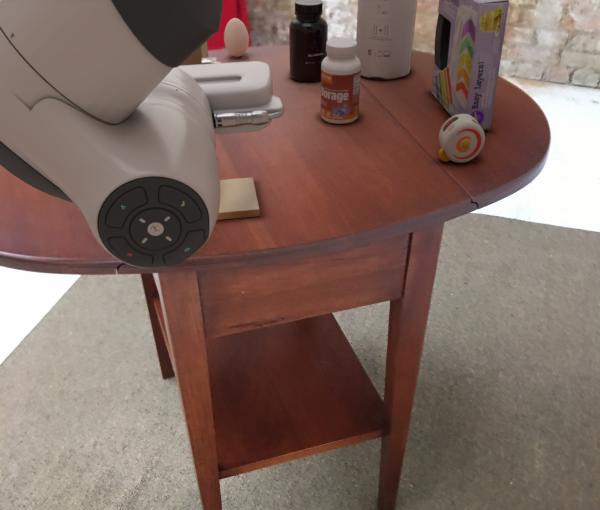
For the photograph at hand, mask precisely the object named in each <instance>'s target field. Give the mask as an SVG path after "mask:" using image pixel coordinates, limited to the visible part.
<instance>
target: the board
mask: <svg viewBox="0 0 600 510" xmlns="http://www.w3.org/2000/svg"><path fill="white" fill-rule="evenodd" d="M220 190H221V193H220V207H219V213H218V217H217V221H221V220H234V219H242V218H244V219H245V218H255V217H261V213H260V206H259V201H258V197H257V190H256V185H255V181H254V177H253V176H250V177H249V176H248V177H238V178H237V177H236V178H227V179H226V178H225V179H220Z"/></svg>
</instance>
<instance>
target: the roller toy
mask: <svg viewBox="0 0 600 510" xmlns="http://www.w3.org/2000/svg"><path fill="white" fill-rule="evenodd" d="M485 142H486V136H485V131H483V129H482V128H481V126H480V125H479V123H478V122H477V121H476V120H475V118H474V117H472V116H471V115H468V114H458V115H455V116H453V117H451V116H450V117H449V118H448V119H447V120H445V121H444V123H443V124H442V125H441V127H440V130H439V133H438V143H439V147H440V149H439V151H438V158H439V160H440V161H441V162H444V163H448V162H450V161H452V162H453V163H457V164H464V163H468V162H470V161H472V160H474V159H475V158H476V157H477V156H478V155H480V153H481V151H482V150H483V148H484V145H485Z"/></svg>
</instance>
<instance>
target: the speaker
mask: <svg viewBox="0 0 600 510" xmlns="http://www.w3.org/2000/svg"><path fill="white" fill-rule="evenodd" d="M417 9H418V0H357V13H356V35H355V41H356V42H357V54H356V55H355V56H356V57H357V58H358V59H359V60H360V62H361V76H360V77H363V78H365V79H371V80H374V81H375V80H377V81H390V80H391V81H392V80H397V79H401V78H404V77H406V76H408V75H409V74H410V72H411V67H412V66H411V65H412V57H413V49H414V47H413V46H414V38H415V28H416V19H417V18H416V17H417Z"/></svg>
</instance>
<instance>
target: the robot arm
mask: <svg viewBox="0 0 600 510" xmlns="http://www.w3.org/2000/svg"><path fill="white" fill-rule="evenodd" d="M223 8H224V0H0V166H1V167H2V168H4V170H6V171H7V172H9V173H10V174H11V175H13V176H14V177H16V178H18V179H19V180H20V181H22V182H24V183H25V184H27V185H28V186H31V187H32V188H34V189H36V190H38V191H40V192H42V193H44V194H46V195H48V196H52V197H54V198H56V199H57V198H58V199H60V200H62V201H66V202H69V203H72V204H74V205H75V207H76V208H77V209H78V210H79V212H80V213H81V215H82V217H83V218H84V220H85V223H86V224H87V226H88V228H89V230H90V231H91V234H92V236H93V237H94V238H95V240H96V241H97V242H98V244H99V245H100V246H101V247H102V248H103V250H104V251H106V252H107V253H108V254H109V255H110V256H112V257H114V259H116V260H117V261H120V263H121V262H122V263H124V264H125V265H129V266H132V267H136V268H140V269H162V268H166V267H167V268H168V267H171V266H175V265H177V264H180V263H183V262H184V261H186V260H188V259H189V258H191V257H192V256H194V255H195V254H196V253H198V252H199V251H200V250H201V249H202V248H203V247H204V246H205V245H206V244H207V242H208V241H209V239H210V237H211V236H212V233H213V232H214V229H215V226H216V224H217V222H218V220H217V217H218V213H219V207H220V193H221V190H220V180H221V174H220V167H219V160H218V155H217V152H216V149H217V147H216V145H217V144H216V142H217V141H216V135H228V134H241V133H243V134H245V133H253V132H258V131H262V130H265V129H266V128H268V127H269V126H270V125H271V123H272V120H274V119H281V118H283V116H284V112H285V108H284V104H283V102H282V99H281V98H280V97H279V96H277V95H274V86H273V71H272V67H271V66H272V65H270V64H269V63H267V62H264V61H261V60H249V61H247V60H246V61H232V62H230V61H229V62H220V61H218V59H217V56H208V57H207V58H201V62H202V64H196V65H181V64H182V63H183V62H184V61H185V60H186V59H187V58H189V57H190V56H191V55H192V54H193V53H194V52H195V51H196V50H198V49H199V48H200V47H201V46H202V45H203V44H204V43H205V42H207V43H208V41H209V40H210V39H211V38H213V36H215V35H216V34H217V33H218V32H219V31H220V28H221V27H220V26H221V21H222V15H223Z"/></svg>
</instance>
